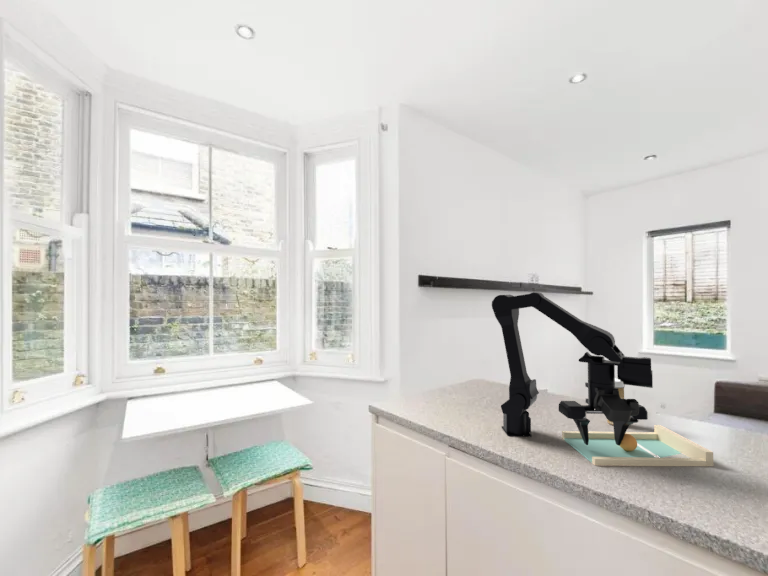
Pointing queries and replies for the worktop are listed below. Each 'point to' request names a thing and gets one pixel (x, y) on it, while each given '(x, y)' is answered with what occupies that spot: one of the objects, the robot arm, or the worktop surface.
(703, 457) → the lane
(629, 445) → the ball
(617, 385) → the sprinkles bottle
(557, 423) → the worktop surface
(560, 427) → the worktop surface
